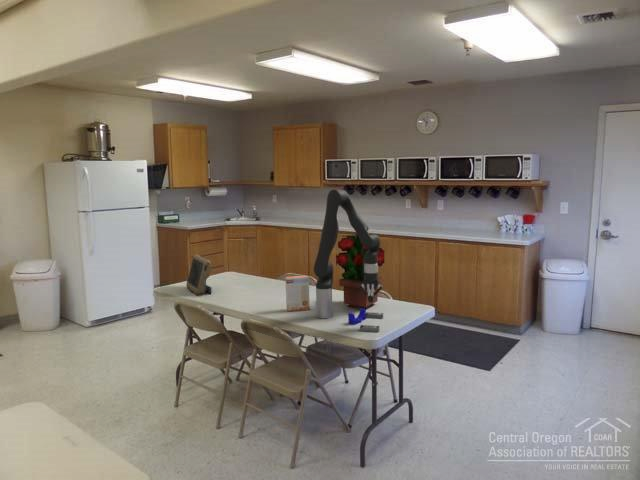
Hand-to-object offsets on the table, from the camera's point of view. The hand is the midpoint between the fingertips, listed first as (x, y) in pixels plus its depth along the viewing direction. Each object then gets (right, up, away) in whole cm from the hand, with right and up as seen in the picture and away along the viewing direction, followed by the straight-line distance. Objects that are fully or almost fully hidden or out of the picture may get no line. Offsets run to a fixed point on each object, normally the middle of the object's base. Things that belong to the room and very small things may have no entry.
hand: (370, 302), depth 263 cm
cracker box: (-41, -9, +34) cm, 54 cm away
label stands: (+1, -12, +4) cm, 13 cm away
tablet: (-116, -3, +87) cm, 145 cm away
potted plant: (-2, -8, +41) cm, 41 cm away
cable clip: (-6, -12, +8) cm, 16 cm away
